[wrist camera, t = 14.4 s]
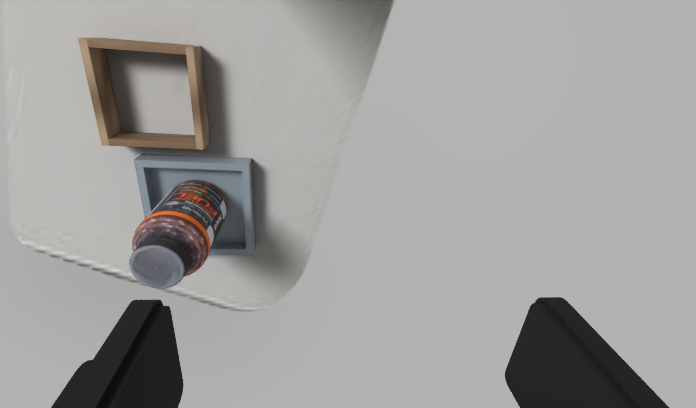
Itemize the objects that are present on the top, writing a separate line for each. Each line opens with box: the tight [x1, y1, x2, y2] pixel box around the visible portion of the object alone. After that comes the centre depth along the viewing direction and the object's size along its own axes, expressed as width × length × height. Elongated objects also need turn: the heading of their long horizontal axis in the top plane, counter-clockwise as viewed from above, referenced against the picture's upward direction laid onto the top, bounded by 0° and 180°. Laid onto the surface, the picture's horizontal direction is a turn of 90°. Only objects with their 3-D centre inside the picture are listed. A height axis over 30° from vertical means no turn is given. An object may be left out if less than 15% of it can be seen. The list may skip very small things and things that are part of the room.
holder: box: [78, 38, 210, 150], centre depth 31 cm, size 9×9×2 cm
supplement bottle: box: [129, 180, 227, 288], centre depth 32 cm, size 6×6×11 cm
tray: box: [134, 154, 255, 255], centre depth 37 cm, size 10×10×2 cm
